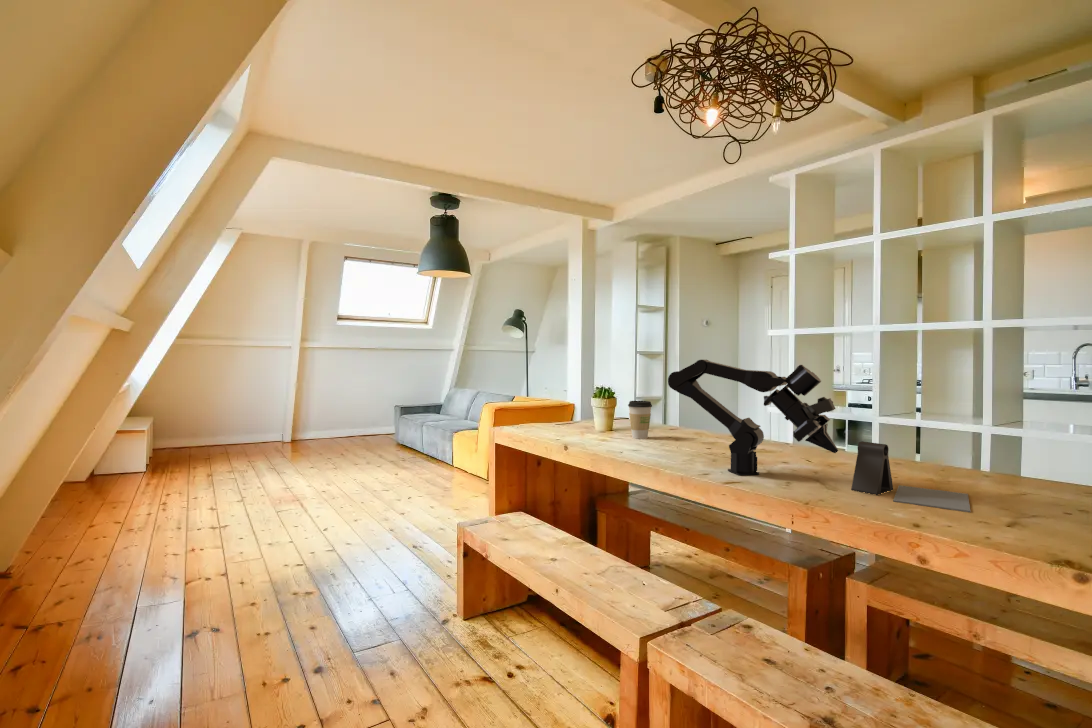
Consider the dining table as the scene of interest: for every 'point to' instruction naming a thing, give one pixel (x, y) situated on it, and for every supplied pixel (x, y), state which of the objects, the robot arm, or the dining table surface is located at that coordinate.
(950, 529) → the dining table surface
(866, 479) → the dark tent sign
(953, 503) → the mat
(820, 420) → the robot arm
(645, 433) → the coffee cup
